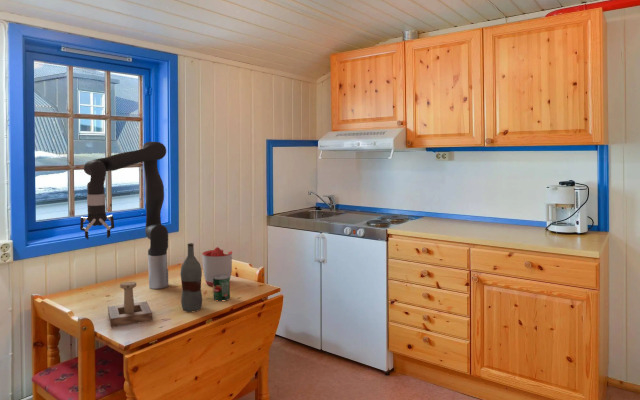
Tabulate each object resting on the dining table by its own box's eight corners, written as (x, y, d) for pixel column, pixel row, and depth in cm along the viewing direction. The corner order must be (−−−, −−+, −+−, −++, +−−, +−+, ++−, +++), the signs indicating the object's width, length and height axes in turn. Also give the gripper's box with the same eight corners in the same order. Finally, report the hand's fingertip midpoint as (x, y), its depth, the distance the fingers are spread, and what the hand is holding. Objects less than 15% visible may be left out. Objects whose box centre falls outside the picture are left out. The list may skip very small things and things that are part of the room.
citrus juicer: (240, 281, 253) (240, 245, 250) (217, 289, 238) (217, 251, 236) (220, 277, 261) (219, 242, 259) (196, 284, 246) (195, 247, 244)
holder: (147, 308, 209) (146, 301, 208) (152, 320, 195) (152, 312, 194) (108, 314, 201) (108, 306, 201) (110, 327, 187) (110, 318, 187)
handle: (121, 316, 199) (120, 282, 198) (137, 314, 201) (136, 281, 200) (121, 320, 195) (119, 285, 193) (137, 318, 197) (136, 284, 195)
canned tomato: (233, 297, 226) (232, 275, 225) (224, 302, 219) (224, 279, 218) (218, 295, 229) (218, 273, 228) (210, 300, 221) (209, 277, 220)
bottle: (188, 314, 203) (187, 246, 199) (177, 309, 209) (175, 243, 205) (206, 308, 210) (205, 243, 206) (195, 304, 216) (193, 240, 212)
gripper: (79, 205, 207) (80, 241, 209) (113, 204, 214) (115, 238, 215) (79, 203, 214) (80, 238, 215) (112, 202, 220) (114, 235, 222)
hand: (97, 238), depth 215 cm, fingers open, 8 cm apart
